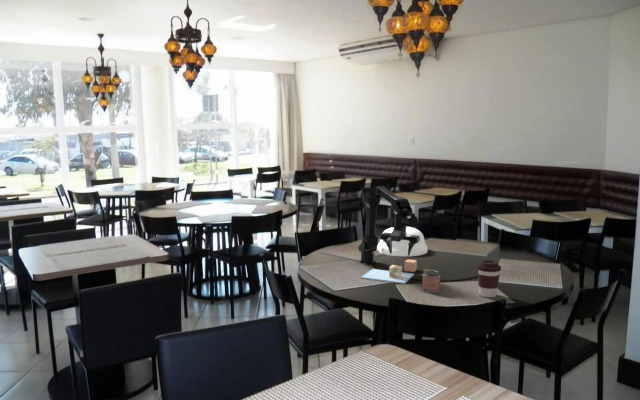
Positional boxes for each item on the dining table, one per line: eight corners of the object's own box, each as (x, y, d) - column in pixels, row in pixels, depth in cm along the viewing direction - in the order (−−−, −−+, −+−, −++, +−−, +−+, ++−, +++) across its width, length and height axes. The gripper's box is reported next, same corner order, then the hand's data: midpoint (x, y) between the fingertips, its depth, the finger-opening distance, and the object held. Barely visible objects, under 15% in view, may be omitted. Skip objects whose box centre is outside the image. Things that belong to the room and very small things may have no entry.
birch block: (389, 277, 256) (389, 267, 255) (392, 274, 260) (392, 264, 260) (399, 278, 254) (399, 268, 253) (402, 275, 258) (402, 265, 258)
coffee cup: (472, 292, 234) (473, 259, 232) (494, 291, 235) (495, 258, 233) (481, 299, 224) (482, 265, 222) (503, 298, 225) (505, 264, 223)
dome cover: (405, 242, 334) (406, 221, 332) (439, 252, 309) (440, 228, 307) (365, 249, 317) (365, 226, 315) (398, 259, 292) (398, 235, 290)
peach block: (404, 271, 269) (404, 261, 268) (407, 268, 273) (407, 259, 273) (413, 272, 267) (414, 262, 266) (416, 269, 271) (416, 260, 271)
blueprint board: (361, 278, 256) (361, 276, 256) (372, 270, 271) (372, 268, 271) (404, 283, 247) (404, 282, 247) (413, 275, 261) (414, 273, 261)
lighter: (440, 291, 236) (441, 269, 235) (439, 293, 233) (440, 271, 231) (422, 289, 239) (423, 268, 237) (421, 291, 235) (421, 270, 234)
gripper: (376, 225, 254) (376, 256, 256) (414, 228, 246) (413, 260, 248) (384, 221, 264) (384, 251, 266) (420, 224, 255) (419, 255, 258)
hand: (399, 254), depth 259 cm, fingers open, 9 cm apart
